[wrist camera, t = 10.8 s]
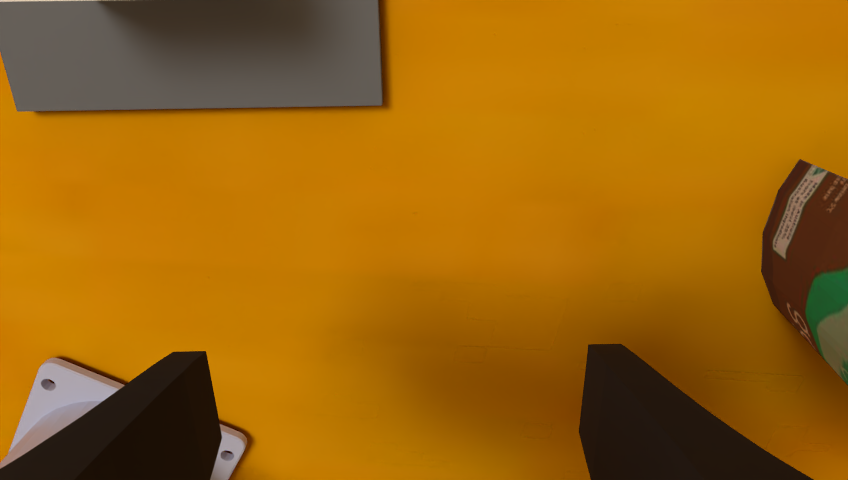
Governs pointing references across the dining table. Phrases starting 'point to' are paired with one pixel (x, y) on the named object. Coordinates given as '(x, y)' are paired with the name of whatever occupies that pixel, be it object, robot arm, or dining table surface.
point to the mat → (191, 54)
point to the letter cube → (42, 0)
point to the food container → (811, 259)
